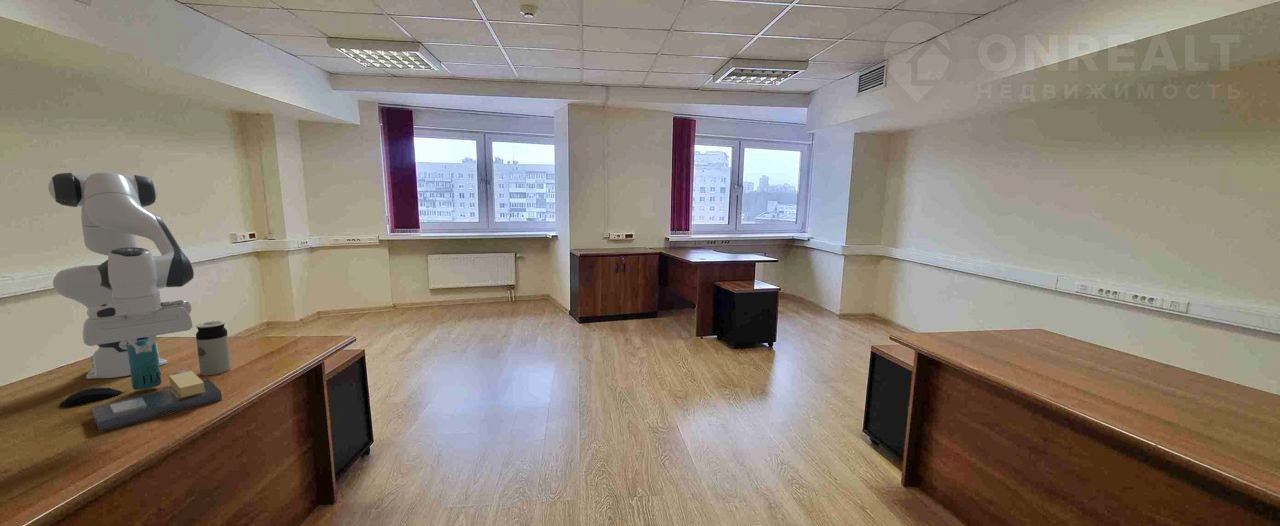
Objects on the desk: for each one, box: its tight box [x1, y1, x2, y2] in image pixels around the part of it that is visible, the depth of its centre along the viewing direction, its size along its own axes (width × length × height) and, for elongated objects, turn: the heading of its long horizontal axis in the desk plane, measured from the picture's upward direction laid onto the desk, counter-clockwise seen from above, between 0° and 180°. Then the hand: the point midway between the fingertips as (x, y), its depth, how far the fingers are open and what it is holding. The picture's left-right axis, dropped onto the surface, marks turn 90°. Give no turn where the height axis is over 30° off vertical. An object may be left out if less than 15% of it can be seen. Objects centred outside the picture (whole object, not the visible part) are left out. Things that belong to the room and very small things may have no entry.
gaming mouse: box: [59, 387, 125, 408], centre depth 133 cm, size 6×15×4 cm, turn 143°
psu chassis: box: [91, 379, 223, 433], centre depth 129 cm, size 17×24×4 cm
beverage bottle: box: [127, 337, 162, 391], centre depth 138 cm, size 6×7×20 cm
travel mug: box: [195, 320, 232, 376], centre depth 154 cm, size 8×8×18 cm
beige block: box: [168, 370, 205, 398], centre depth 133 cm, size 18×5×3 cm, turn 56°
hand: (144, 352), depth 122 cm, fingers closed
